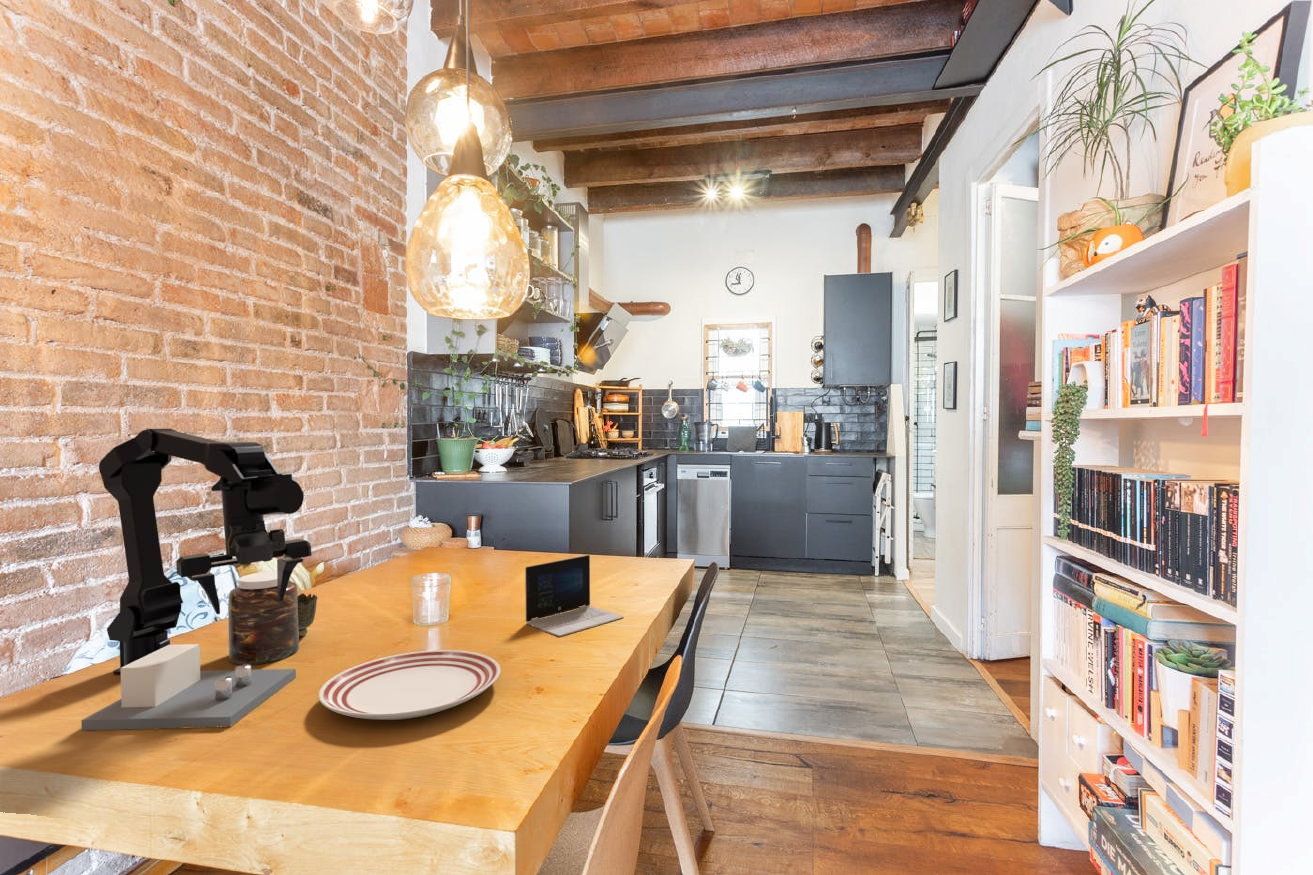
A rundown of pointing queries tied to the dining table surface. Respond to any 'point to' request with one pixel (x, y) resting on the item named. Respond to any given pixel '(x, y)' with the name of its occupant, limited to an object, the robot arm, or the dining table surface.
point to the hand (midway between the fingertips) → (250, 607)
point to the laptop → (562, 597)
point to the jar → (262, 620)
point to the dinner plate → (409, 684)
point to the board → (195, 704)
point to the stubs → (225, 683)
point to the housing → (160, 675)
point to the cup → (306, 612)
